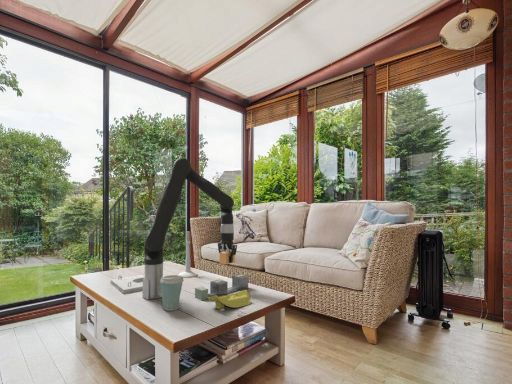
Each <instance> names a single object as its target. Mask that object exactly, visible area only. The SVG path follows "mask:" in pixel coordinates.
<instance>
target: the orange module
mask: <svg viewBox="0 0 512 384" xmlns="http://www.w3.org/2000/svg"><path fill="white" fill-rule="evenodd" d="M230 253H231V252H230ZM235 256H236V255H233V262H232V263H229V253H228V252H227V251H225V252H220V253H219V264H220V265H221V264H222V265H228V264H230V265H231V264H233V263H235V262H236V257H235Z"/></svg>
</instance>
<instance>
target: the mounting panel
mask: <svg viewBox="0 0 512 384" xmlns="http://www.w3.org/2000/svg"><path fill="white" fill-rule="evenodd" d="M164 276H167V275H166V274H164V273H163V277H164ZM143 278H144V274H138V275H133V276H131V275H130V276H125V277H122V275H119V277H118V278H112V279H110V284H111V285H112V286H113V287H115V288H116V289H117V290H118V291H119V292H121V293H122V294H123V295H124V294H131V293H136V292H143Z"/></svg>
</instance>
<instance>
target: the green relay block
mask: <svg viewBox="0 0 512 384" xmlns="http://www.w3.org/2000/svg"><path fill="white" fill-rule="evenodd" d="M208 294H209V288H208V287H204V286H199V287H198V286H197V287H194V298H195V299H197V300H200V301H205V300H209V299H208V298H209V297H208Z"/></svg>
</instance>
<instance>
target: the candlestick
mask: <svg viewBox="0 0 512 384" xmlns="http://www.w3.org/2000/svg"><path fill="white" fill-rule="evenodd" d="M190 235H191V234H190V231H186V241H185V244H186V251H185V252H186V253H185V268H184V271H181V272H180V273H179V272H178V274H177V275H179V276H182V278H183V279H191V278H195V277H197V276H198V273H197V272H196V271H193V270H191V250H190V249H191V248H190V244H191V242H192V241H191V240H190V239H191V237H190Z"/></svg>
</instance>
